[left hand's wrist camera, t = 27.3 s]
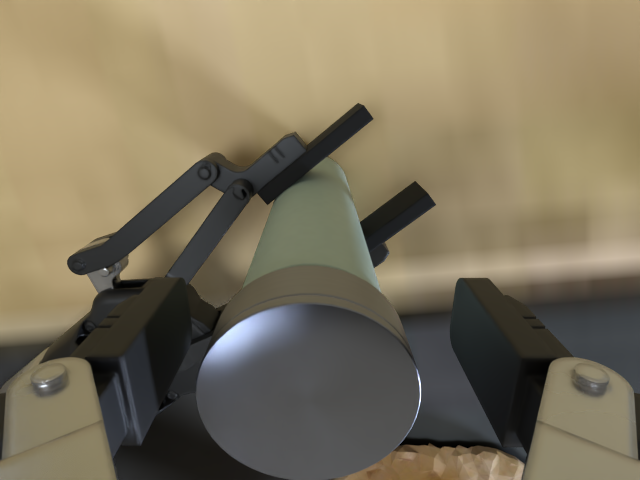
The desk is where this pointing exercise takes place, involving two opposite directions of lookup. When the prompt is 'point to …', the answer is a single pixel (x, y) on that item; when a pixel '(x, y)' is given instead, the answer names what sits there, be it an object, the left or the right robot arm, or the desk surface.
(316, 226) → the bottle
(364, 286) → the lid
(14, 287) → the desk surface
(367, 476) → the sculpture
